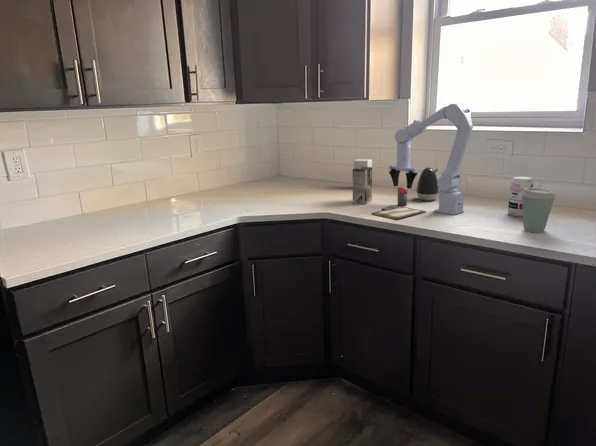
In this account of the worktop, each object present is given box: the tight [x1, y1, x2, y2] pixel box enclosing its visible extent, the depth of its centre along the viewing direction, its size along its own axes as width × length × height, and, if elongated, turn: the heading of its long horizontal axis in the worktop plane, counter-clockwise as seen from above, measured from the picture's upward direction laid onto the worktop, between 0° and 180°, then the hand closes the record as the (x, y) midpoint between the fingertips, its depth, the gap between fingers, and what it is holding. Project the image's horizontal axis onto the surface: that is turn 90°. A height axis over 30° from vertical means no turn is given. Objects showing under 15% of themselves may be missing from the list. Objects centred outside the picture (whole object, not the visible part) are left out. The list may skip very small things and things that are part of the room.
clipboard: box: [371, 205, 427, 221], centre depth 197 cm, size 14×18×2 cm
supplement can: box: [507, 175, 534, 218], centre depth 187 cm, size 8×8×15 cm
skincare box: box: [353, 158, 373, 169], centre depth 249 cm, size 8×7×16 cm
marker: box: [397, 186, 408, 207], centre depth 210 cm, size 4×4×8 cm
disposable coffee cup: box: [521, 187, 556, 234], centre depth 165 cm, size 11×11×15 cm
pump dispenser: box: [415, 167, 440, 202], centre depth 219 cm, size 10×10×15 cm
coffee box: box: [352, 166, 373, 206], centre depth 218 cm, size 9×6×16 cm
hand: (402, 187), depth 209 cm, fingers open, 7 cm apart
